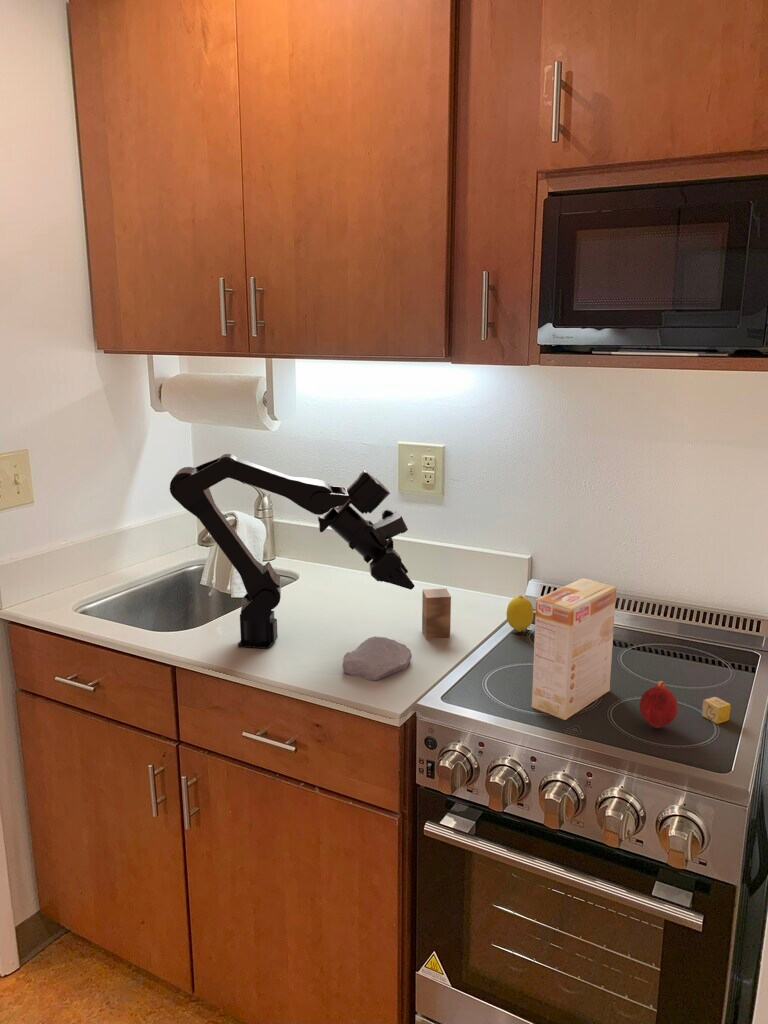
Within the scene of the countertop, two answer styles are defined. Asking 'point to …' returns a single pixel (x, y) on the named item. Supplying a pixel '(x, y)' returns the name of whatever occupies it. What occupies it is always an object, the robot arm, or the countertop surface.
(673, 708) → the onion
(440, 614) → the walnut block
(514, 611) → the lemon
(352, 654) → the lilac crinkled slab
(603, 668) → the coffeecake box
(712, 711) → the alphabet block
